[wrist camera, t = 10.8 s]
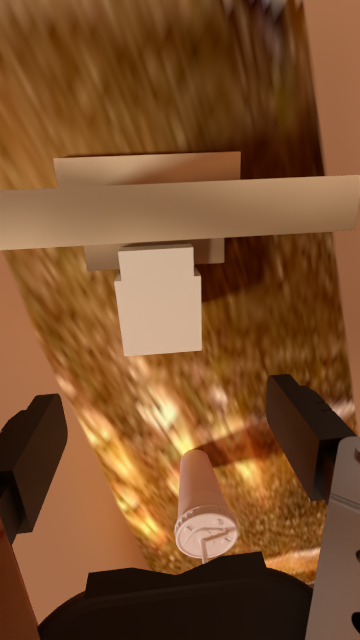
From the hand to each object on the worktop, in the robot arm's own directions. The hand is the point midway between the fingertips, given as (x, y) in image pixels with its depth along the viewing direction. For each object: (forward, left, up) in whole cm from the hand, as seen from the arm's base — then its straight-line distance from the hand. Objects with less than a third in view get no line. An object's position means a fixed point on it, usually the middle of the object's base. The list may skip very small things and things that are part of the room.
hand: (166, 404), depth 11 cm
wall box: (0, 0, -18) cm, 18 cm away
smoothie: (+23, +3, -20) cm, 31 cm away
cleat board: (-7, 0, -20) cm, 21 cm away
